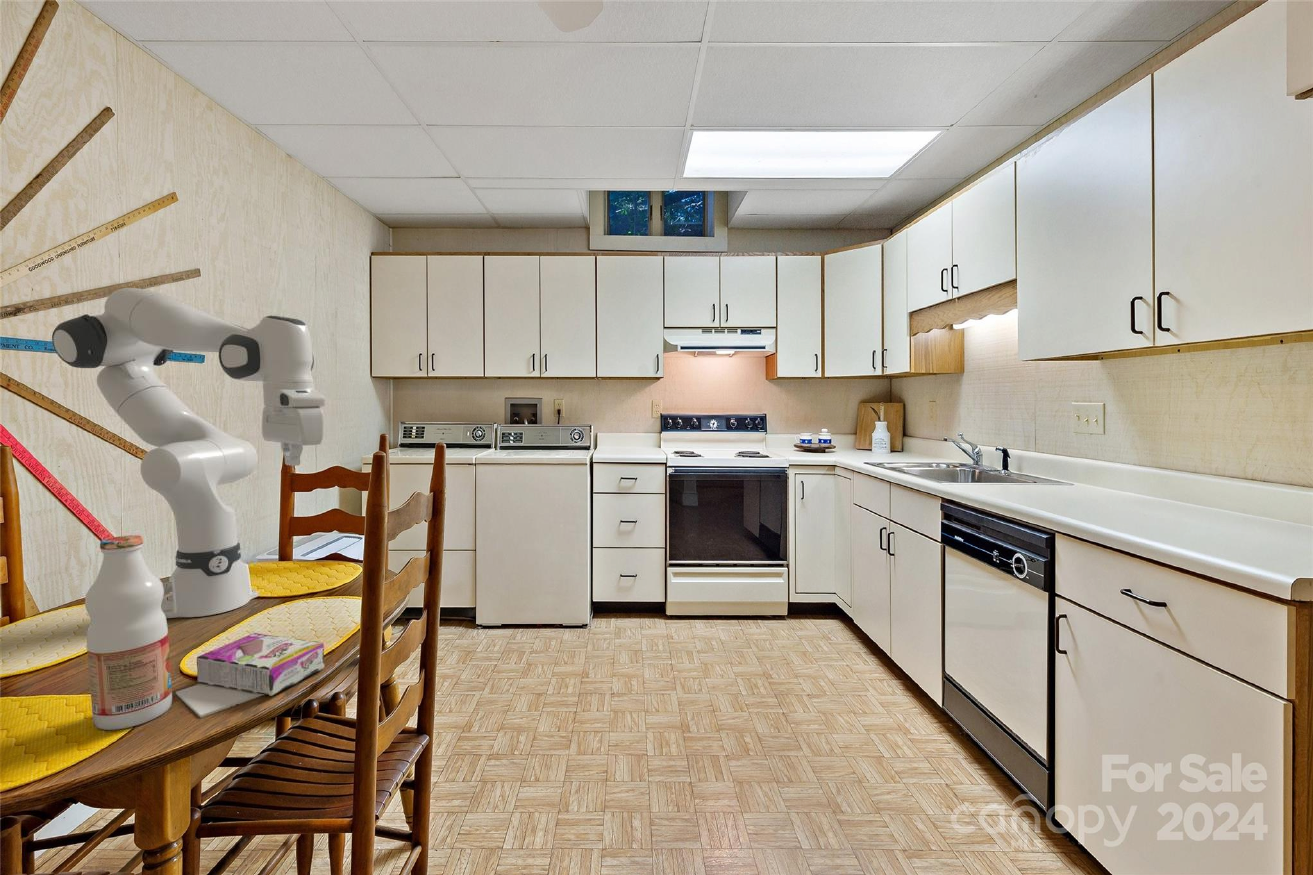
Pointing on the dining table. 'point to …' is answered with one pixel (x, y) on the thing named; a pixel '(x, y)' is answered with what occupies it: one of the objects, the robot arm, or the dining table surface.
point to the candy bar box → (260, 663)
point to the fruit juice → (127, 639)
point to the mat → (213, 698)
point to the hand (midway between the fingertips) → (292, 465)
